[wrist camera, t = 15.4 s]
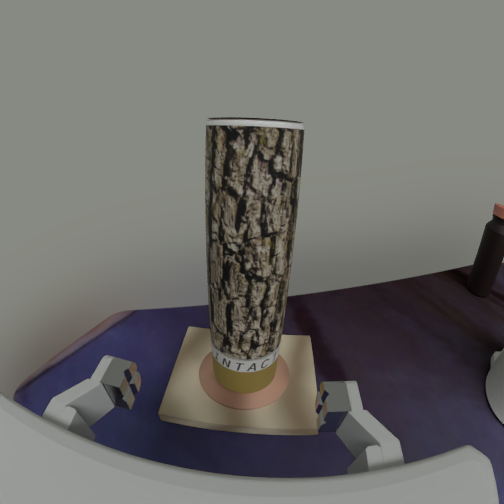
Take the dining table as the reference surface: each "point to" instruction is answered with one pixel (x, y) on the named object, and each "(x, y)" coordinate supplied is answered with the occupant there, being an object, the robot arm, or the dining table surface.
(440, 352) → the dining table surface
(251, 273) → the bark print tube
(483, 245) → the bottle
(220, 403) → the holder board
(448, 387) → the dining table surface
